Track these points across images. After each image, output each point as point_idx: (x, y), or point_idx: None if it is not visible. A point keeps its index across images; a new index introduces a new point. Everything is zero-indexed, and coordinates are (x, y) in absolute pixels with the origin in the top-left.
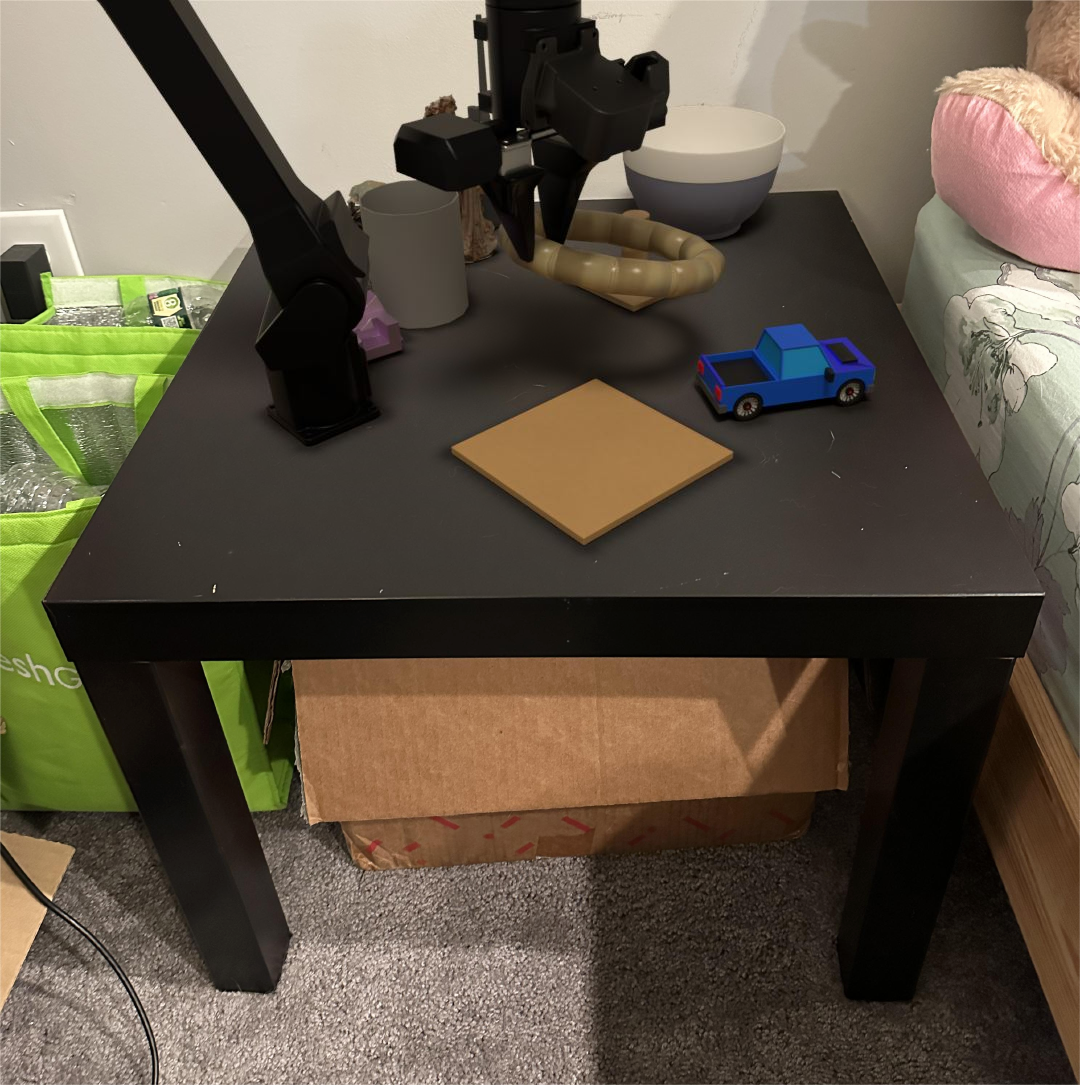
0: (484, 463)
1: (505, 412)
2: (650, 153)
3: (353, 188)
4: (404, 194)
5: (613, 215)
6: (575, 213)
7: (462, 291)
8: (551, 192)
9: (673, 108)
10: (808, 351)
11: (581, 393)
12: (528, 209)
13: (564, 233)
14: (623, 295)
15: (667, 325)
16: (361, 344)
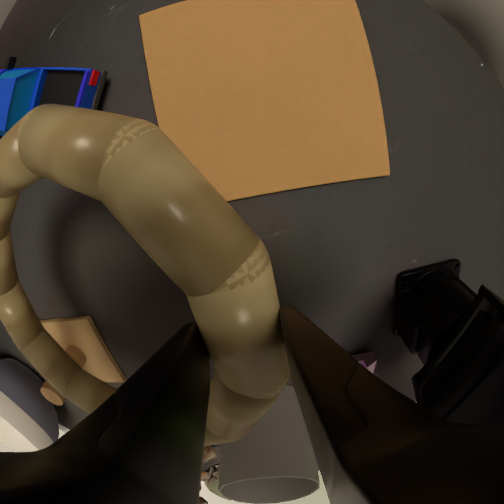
0: (379, 126)
1: (301, 212)
2: (31, 438)
3: None
4: (255, 493)
5: (64, 392)
6: None
7: None
8: (178, 452)
9: None
10: (2, 78)
11: None
12: (345, 397)
13: (175, 342)
14: (90, 338)
15: (69, 277)
16: (367, 365)
